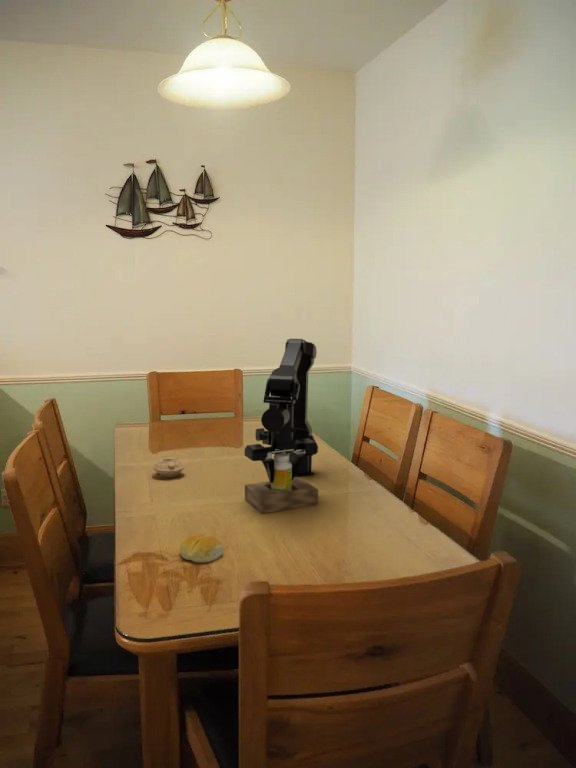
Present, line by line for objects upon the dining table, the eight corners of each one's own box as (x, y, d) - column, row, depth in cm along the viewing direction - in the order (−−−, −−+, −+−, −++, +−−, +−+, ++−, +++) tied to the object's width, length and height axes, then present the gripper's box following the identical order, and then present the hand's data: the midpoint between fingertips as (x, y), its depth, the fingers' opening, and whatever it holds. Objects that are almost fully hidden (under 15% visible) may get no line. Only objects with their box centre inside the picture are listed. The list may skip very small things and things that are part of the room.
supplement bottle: (289, 494, 154) (289, 458, 153) (268, 493, 156) (269, 456, 154) (293, 487, 160) (293, 452, 158) (273, 486, 161) (273, 451, 159)
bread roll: (197, 543, 133) (196, 525, 132) (229, 553, 128) (229, 535, 127) (170, 556, 126) (170, 538, 125) (203, 567, 121) (203, 549, 120)
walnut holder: (298, 491, 166) (298, 477, 166) (317, 504, 157) (318, 489, 156) (244, 499, 159) (244, 484, 159) (261, 513, 150) (261, 498, 149)
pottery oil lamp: (178, 465, 188) (187, 447, 185) (178, 489, 177) (187, 471, 175) (151, 457, 185) (159, 439, 182) (149, 481, 174) (158, 463, 172)
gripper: (299, 413, 166) (298, 468, 168) (236, 419, 158) (236, 476, 160) (319, 422, 156) (318, 479, 159) (253, 428, 148) (253, 489, 150)
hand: (281, 481), depth 157 cm, fingers closed on supplement bottle, 5 cm apart
